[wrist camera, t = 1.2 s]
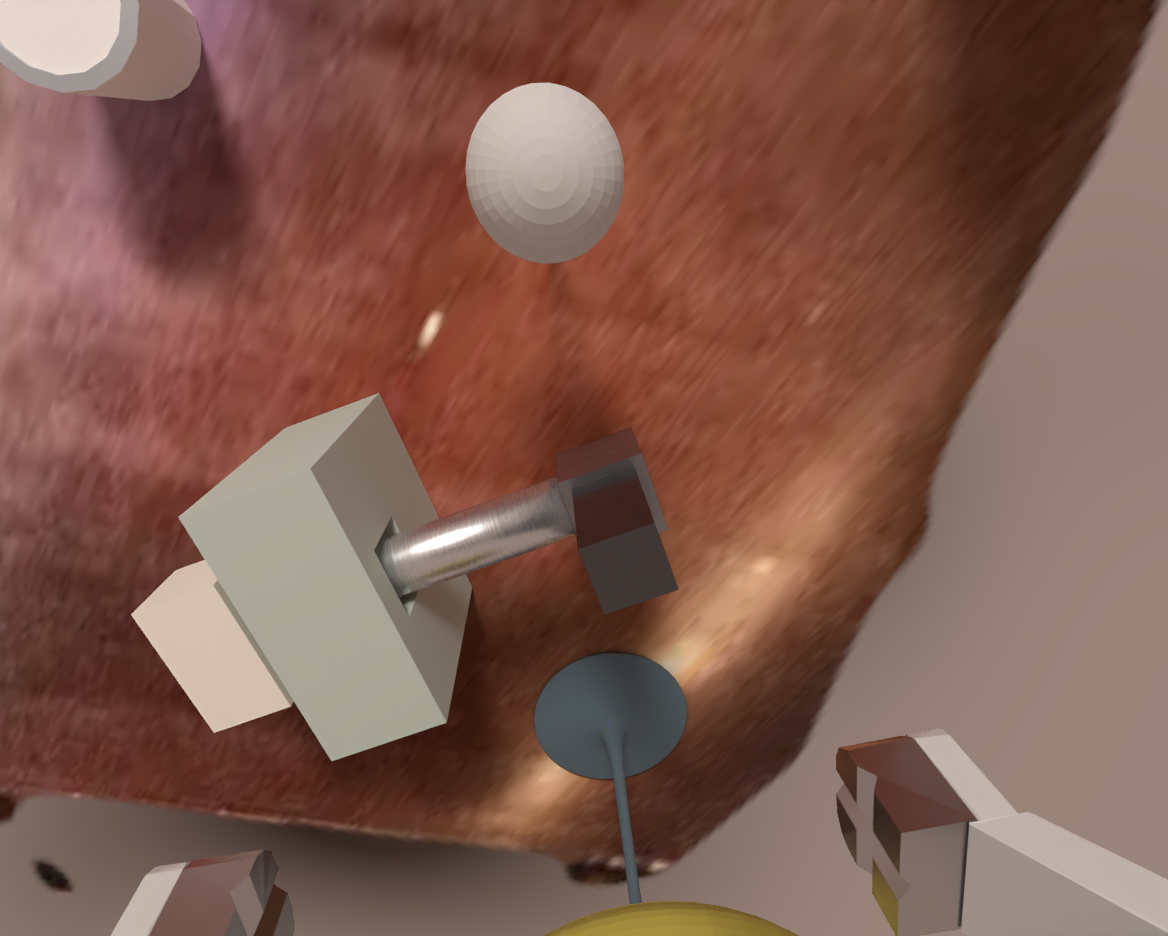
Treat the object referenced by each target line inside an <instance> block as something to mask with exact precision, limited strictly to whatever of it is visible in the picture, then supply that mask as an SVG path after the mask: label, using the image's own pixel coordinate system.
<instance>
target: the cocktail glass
mask: <svg viewBox="0 0 1168 936" xmlns="http://www.w3.org/2000/svg"><path fill="white" fill-rule="evenodd" d="M686 719H687V706H686V701H685V697H684V694H683V692H682V689H681V687H680V686H679V684H678V683H677V681H676V679H675V678H674V677H673V676H672V675H671V674H670V673H669V672H668V671H667V670H666V669H664V668H663V667H662V666H661V665H659V664H657V663H655V662H653V661H652V660H650V659H647V658H644V657H641V656H639V655H634V654H629V653H617V652H611V653H600V654H595V655H591V656H587V657H585V658H582V659H579V660H577V661H575V662H573V663H571V664H569V665H567V666H566V667H564V668H563V669H562V670H560V671H559V672H558V673H556V674H555V675H554V676H553V677H552V678H551V679H550V680H549V682H548V683H547V684H546V686H545V687H544V689H543V690H542V692H541V694H540V696H539V698H538V701H537V705H536V709H535V717H534V725H535V731H536V735H537V737H538V740H539V743H540V744H541V746H542V748H543V749H544V751H545V752H546V753H547V754H548V756H549V757H550V758H551V759H552V760H553V761H555V762H556V763H557V764H558V765H560V766H561V767H563V768H565V769H566V770H568V771H570V772H573V773H575V774H578V775H581V776H585V777H589V778H596V779H613V780H614V787H615V794H616V801H617V808H618V815H619V822H620V830H621V837H622V844H623V852H624V860H625V868H626V876H627V884H628V892H629V901H630V905H625V906H621V907H616V908H612V909H607V910H603V911H600V912H597V913H594V914H591V915H588V916H585V917H582V918H579V919H576V920H574V921H572V922H570V923H568V924H566V925H564V926H562V927H560V928H558V929H556V930H554V931H552V932H550V933H548V934H546V935H544V936H798V935H796V934H795V933H793V932H791V931H789V930H787V929H784V928H782V927H780V926H778V925H776V924H773V923H771V922H769V921H767V920H765V919H762V918H760V917H757V916H754V915H750V914H747V913H744V912H740V911H737V910H733V909H730V908H726V907H721V906H716V905H709V904H702V903H695V902H671V901H659V902H649V903H642V901H641V894H640V888H639V881H638V874H637V867H636V860H635V853H634V846H633V838H632V831H631V823H630V816H629V808H628V800H627V792H626V784H625V777H628V776H632V775H635V774H638V773H641V772H643V771H645V770H647V769H649V768H651V767H653V766H654V765H656V764H658V763H659V762H660V761H662V760H663V759H664V758H665V757H666V756H667V755H668V754H669V753H670V752H671V751H672V750H673V749H674V748H675V746H676V745H677V743H678V742H679V740H680V738H681V736H682V734H683V731H684V728H685V724H686Z"/></svg>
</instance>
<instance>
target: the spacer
mask: <svg viewBox="0 0 1168 936" xmlns="http://www.w3.org/2000/svg"><path fill="white" fill-rule="evenodd" d="M131 615H132V617H133V618H134V620H135V621H136V623H137V624H138V625H139V627H140V628H141V630H142V631H143V632H144V634H145V635H146V637H147V638H148V640H149V641H150V642H151V644H152V645H153V647H154V648H155V650H156V651H157V652H158V654H159V655H160V657H161V658H162V660H163V661H164V662H165V664H166V665H167V667H168V668H169V669H170V671H171V672H172V674H173V675H174V677H175V678H176V679H177V681H178V682H179V684H180V685H181V687H182V688H183V689H184V691H185V692H186V694H187V695H188V696H189V698H190V699H191V701H192V702H193V704H194V705H195V706H196V708H197V709H198V711H199V712H200V714H201V715H202V716H203V718H204V719H205V721H206V722H207V724H208V725H209V726H210V728H211V729H212V731H213V732H214V733H215V732H218V731H221V730H224V729H227V728H230V727H233V726H235V725H238V724H241V723H244V722H247V721H250V720H253V719H256V718H259V717H262V716H265V715H268V714H270V713H273V712H276V711H279V710H282V709H285V708H288V707H291V705H292V703H293V699H292V697H291V696H290V694H289V693H288V691H287V689H286V688H285V686H284V685H283V683H282V682H281V680H280V678H279V677H278V675H277V674H276V672H275V670H274V669H273V667H272V666H271V664H270V662H269V661H268V659H267V658H266V656H265V654H264V653H263V651H262V650H261V648H260V646H259V645H258V643H257V642H256V640H255V639H254V637H253V635H252V634H251V632H250V631H249V629H248V627H247V626H246V624H245V623H244V621H243V619H242V618H241V616H240V615H239V613H238V611H237V610H236V608H235V607H234V605H233V603H232V602H231V600H230V599H229V597H228V596H227V594H226V592H225V591H224V589H223V588H222V586H221V584H220V583H219V581H218V580H217V578H216V576H215V575H214V573H213V572H212V570H211V568H210V567H209V565H208V564H207V562H206V560H203V561H200V562H197V563H195V564H192V565H189V566H186V567H184V568H181V569H178V570H175V571H174V572H173V573H172V574H171V575H170V576H169V577H168V578H167V579H166V580H165V581H164V582H163V583H162V584H161V585H160V586H159V587H158V588H157V589H156V590H155V591H154V592H153V593H152V594H151V595H150V596H149V597H148V598H147V599H146V600H145V601H144V602H143V603H142V604H141V605H140V606H139V607H138V608H137V609H136V610H135V611H134V612H133V613H132V614H131Z"/></svg>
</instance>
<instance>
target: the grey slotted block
mask: <svg viewBox="0 0 1168 936" xmlns="http://www.w3.org/2000/svg"><path fill="white" fill-rule="evenodd" d="M179 519H180V521H181V522H182V524H183V525H184V527H185V529H186V530H187V532H188V533H189V535H190V537H191V538H192V540H193V541H194V543H195V545H196V546H197V548H198V549H199V551H200V553H201V554H202V556H203V557H204V559H205V560H206V562H207V564H208V565H209V567H210V568H211V570H212V572H213V573H214V575H215V576H216V578H217V580H218V581H219V583H220V584H221V586H222V588H223V589H224V591H225V592H226V594H227V596H228V597H229V599H230V600H231V602H232V603H233V605H234V607H235V608H236V610H237V611H238V613H239V615H240V616H241V618H242V619H243V621H244V623H245V624H246V626H247V627H248V629H249V631H250V632H251V634H252V635H253V637H254V639H255V640H256V642H257V643H258V645H259V646H260V648H261V650H262V651H263V653H264V654H265V656H266V658H267V659H268V661H269V662H270V664H271V666H272V667H273V669H274V670H275V672H276V674H277V675H278V677H279V678H280V680H281V682H282V683H283V685H284V686H285V688H286V689H287V691H288V693H289V694H290V696H291V697H292V699H293V701H294V702H295V704H296V705H297V707H298V709H299V710H300V712H301V713H302V715H303V717H304V718H305V720H306V721H307V723H308V725H309V726H310V728H311V729H312V731H313V732H314V734H315V736H316V737H317V739H318V740H319V742H320V744H321V745H322V747H323V748H324V750H325V752H326V753H327V755H328V756H329V758H330V760H331V761H334V760H337V759H340V758H343V757H346V756H349V755H352V754H355V753H358V752H361V751H364V750H367V749H370V748H373V747H376V746H379V745H382V744H385V743H388V742H391V741H394V740H397V739H400V738H403V737H405V736H408V735H411V734H414V733H417V732H420V731H423V730H426V729H429V728H432V727H435V726H438V725H441V724H444V723H447V719H448V714H449V708H450V703H451V698H452V692H453V687H454V682H455V677H456V671H457V666H458V661H459V655H460V650H461V645H462V639H463V634H464V629H465V623H466V618H467V613H468V608H469V602H470V597H471V592H472V586H471V584H470V582H469V580H468V578H467V575H466V574H464V575H462V576H459V577H456V578H453V579H450V580H447V581H444V582H442V583H439V584H436V585H433V586H430V587H427V588H424V589H422V590H419V591H416V592H413V593H410V594H407V595H405V596H402V597H398V595H397V594H396V592H395V590H394V588H393V586H392V584H391V582H390V580H389V578H388V576H387V575H386V573H385V571H384V569H383V567H382V565H381V563H380V561H379V559H378V557H377V556H376V554H375V552H374V550H375V548H376V546H377V544H378V542H379V540H381V539H384V538H386V537H389V536H392V535H395V534H397V533H400V532H403V531H406V530H409V529H411V528H414V527H417V526H420V525H423V524H425V523H428V522H431V521H434V520H437V519H439V517H438V515H437V513H436V511H435V509H434V507H433V504H432V502H431V500H430V498H429V496H428V494H427V492H426V490H425V488H424V486H423V484H422V482H421V479H420V477H419V475H418V473H417V471H416V469H415V467H414V465H413V463H412V461H411V459H410V456H409V454H408V452H407V450H406V448H405V446H404V444H403V442H402V440H401V438H400V436H399V434H398V431H397V429H396V427H395V425H394V423H393V421H392V419H391V417H390V415H389V413H388V411H387V408H386V406H385V404H384V402H383V400H382V398H381V396H380V394H379V393H378V394H375V395H372V396H370V397H367V398H364V399H362V400H359V401H356V402H354V403H351V404H348V405H346V406H343V407H340V408H338V409H335V410H332V411H330V412H327V413H324V414H322V415H319V416H316V417H313V418H311V419H308V420H305V421H303V422H300V423H297V424H295V425H292V426H289V427H287V428H285V429H283V430H282V431H281V432H280V433H279V434H277V435H276V436H275V437H274V438H273V439H271V440H270V441H269V442H268V443H267V444H265V445H264V446H263V447H262V448H261V449H259V450H258V451H257V452H256V453H255V454H253V455H252V456H251V457H250V458H249V459H247V460H246V461H245V462H244V463H243V464H241V465H240V466H239V467H238V468H237V469H235V470H234V471H233V472H232V473H231V474H229V475H228V476H227V477H226V478H225V479H224V480H222V481H221V482H220V483H219V484H218V485H216V486H215V487H214V488H213V489H212V490H210V491H209V492H208V493H207V494H206V495H204V496H203V497H202V498H201V499H200V500H198V501H197V502H196V503H195V504H194V505H192V506H191V507H190V508H189V509H188V510H186V511H185V512H184V513H183V514H182V515H180V516H179Z"/></svg>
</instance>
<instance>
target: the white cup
mask: <svg viewBox="0 0 1168 936" xmlns="http://www.w3.org/2000/svg"><path fill="white" fill-rule="evenodd" d="M201 46H202V42H201V38H200V34H199V30H198V27H197V23H196V19H195V16H194V15H193V13H192V12H191V10H190V9H189V7H188V5H187V4H186V2H185V1H184V0H0V63H2V64H3V65H4V66H6V67H7V68H8V69H10V70H11V71H13V72H14V73H15V74H17V75H18V76H20V77H21V78H22V79H24V80H25V81H26V82H28V83H32V84H35V85H38V86H42V87H45V88H48V89H52V90H55V91H58V92H62V93H70V94H80V95H91V96H101V97H112V98H122V99H133V100H143V101H154V100H162V99H171V98H172V97H174V96H175V95H177V94H178V93H180V92H181V91H183V90H184V89H186V88H187V87H189V85H190V83H191V82H192V80H193V78H194V76H195V74H196V73H197V71H198V69H199V67H200V57H201Z"/></svg>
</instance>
